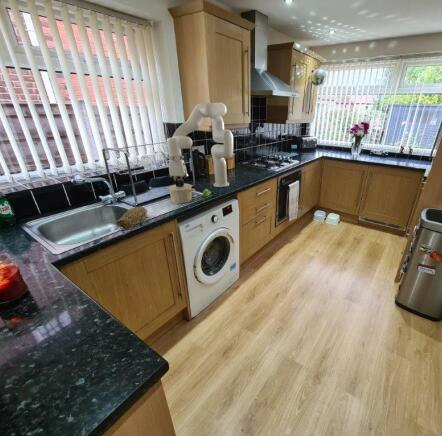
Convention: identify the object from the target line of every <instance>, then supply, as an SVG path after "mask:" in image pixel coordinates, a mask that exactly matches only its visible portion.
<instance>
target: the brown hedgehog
mask: <svg viewBox="0 0 442 436" xmlns="http://www.w3.org/2000/svg"><path fill="white" fill-rule="evenodd" d="M147 214H148V210H147V209H146V207H144V206H135V207H131V208H129V209H128V210H127V211H125V212H123V216H121V217H120V218H119V219H118V220H116V221H115V224H116V226H118V227H119V228H123V229H126V230H128V229H131V228H133V227H135V226H136V225H137V224H139V223H140V222H142V221H143V220H144V219H145V218H146V217H147Z"/></svg>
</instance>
